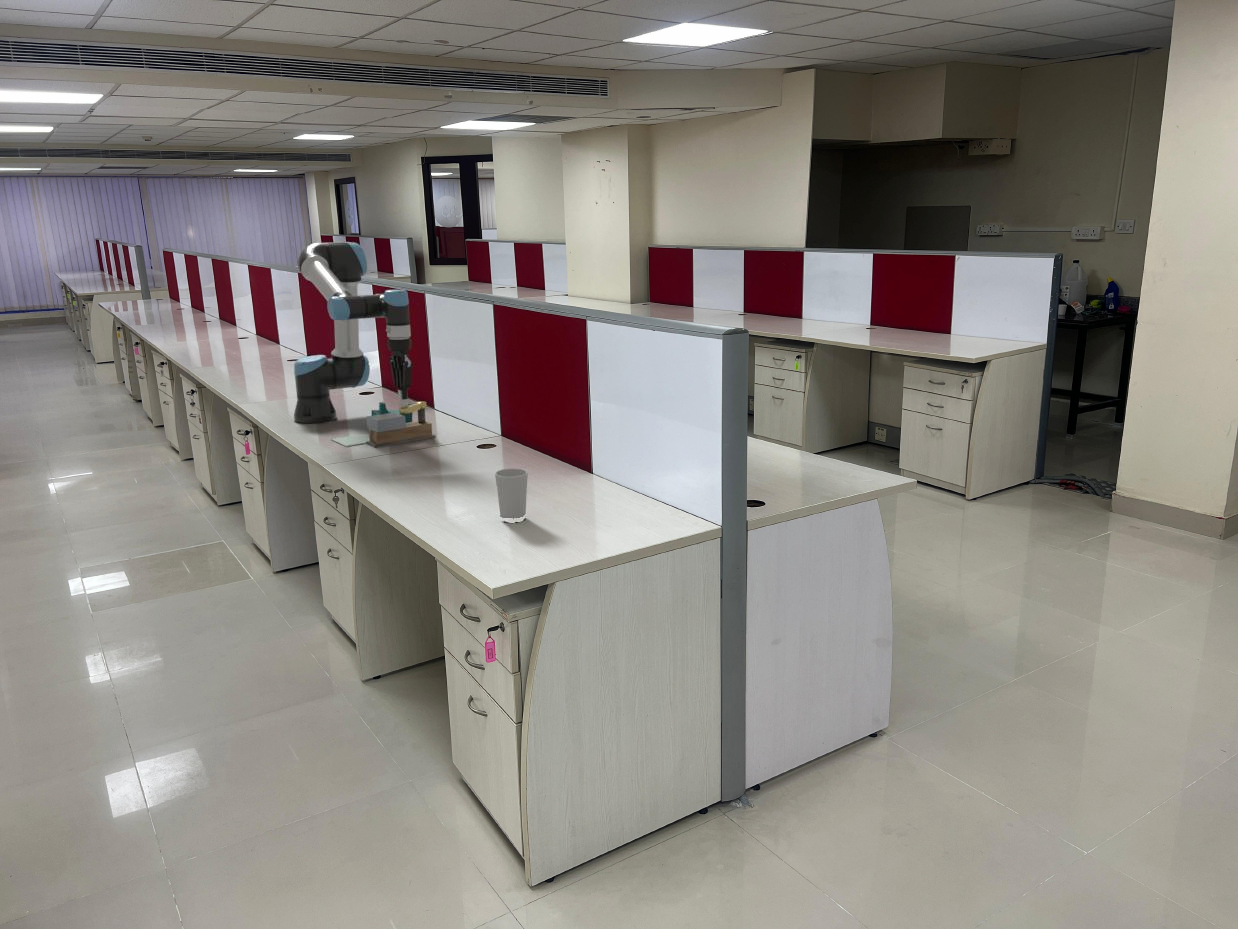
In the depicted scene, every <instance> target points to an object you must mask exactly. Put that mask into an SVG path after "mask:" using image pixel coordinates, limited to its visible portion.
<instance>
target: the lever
mask: <svg viewBox="0 0 1238 929" xmlns="http://www.w3.org/2000/svg"><path fill="white" fill-rule="evenodd" d="M420 409H425V410H426V409H427V402H426V401H415V402H414V403H412V405H409V406H406V407H403V408H399V407H398V410H399V413H400V414H401V415H405V414H408V413H411V412H412V413H414V412H418V410H420Z"/></svg>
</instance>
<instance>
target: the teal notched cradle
mask: <svg viewBox="0 0 1238 929" xmlns="http://www.w3.org/2000/svg"><path fill="white" fill-rule="evenodd" d="M412 404H413V403H412V402H409V401H408V406H409V405H412ZM378 405H379V406H378V409H371V415H370V416H374V415H381V414H387V413H397V414H400V413H399V409H387V405H386V403H385V402H383V401H381V402H379V404H378ZM400 415H401V414H400ZM403 416H405V421H406V423H409V422H413V412H411V413H408V414H405V415H403Z"/></svg>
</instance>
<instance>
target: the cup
mask: <svg viewBox="0 0 1238 929" xmlns="http://www.w3.org/2000/svg"><path fill="white" fill-rule="evenodd" d="M528 474H529V472H528V470H526V469H524V468H517V467H516V468H503V469H499V470H496V471H495V472H494V476H495V485H496V488H497V489H496V490H497V498H498V507H499V518H500V517H502V518H513V519H514V518H520V517H523V516H524V515H525V514H526V512H527V493H528V491H527V489H528V478H529V477H528Z"/></svg>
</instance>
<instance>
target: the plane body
mask: <svg viewBox="0 0 1238 929" xmlns="http://www.w3.org/2000/svg"><path fill="white" fill-rule="evenodd" d="M417 419H418V420H416V421H412V422H409V423H406V428H403V429H397V430H390V431H384V432H375V431H373V430H370V429H368V435H369V439H370V441H366V444H365V445H367V446H368V445H369V446H371V447H374V448H380V447H386V446H393V445H398V444H405V443H411V442H417V441H423V440H427V439H428V440H429V439H433V438H434V439H435V438H436V437H437V436H436V434H435V433H433V426H432V422H429V421H427V420H426V409H420V410H417Z"/></svg>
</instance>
